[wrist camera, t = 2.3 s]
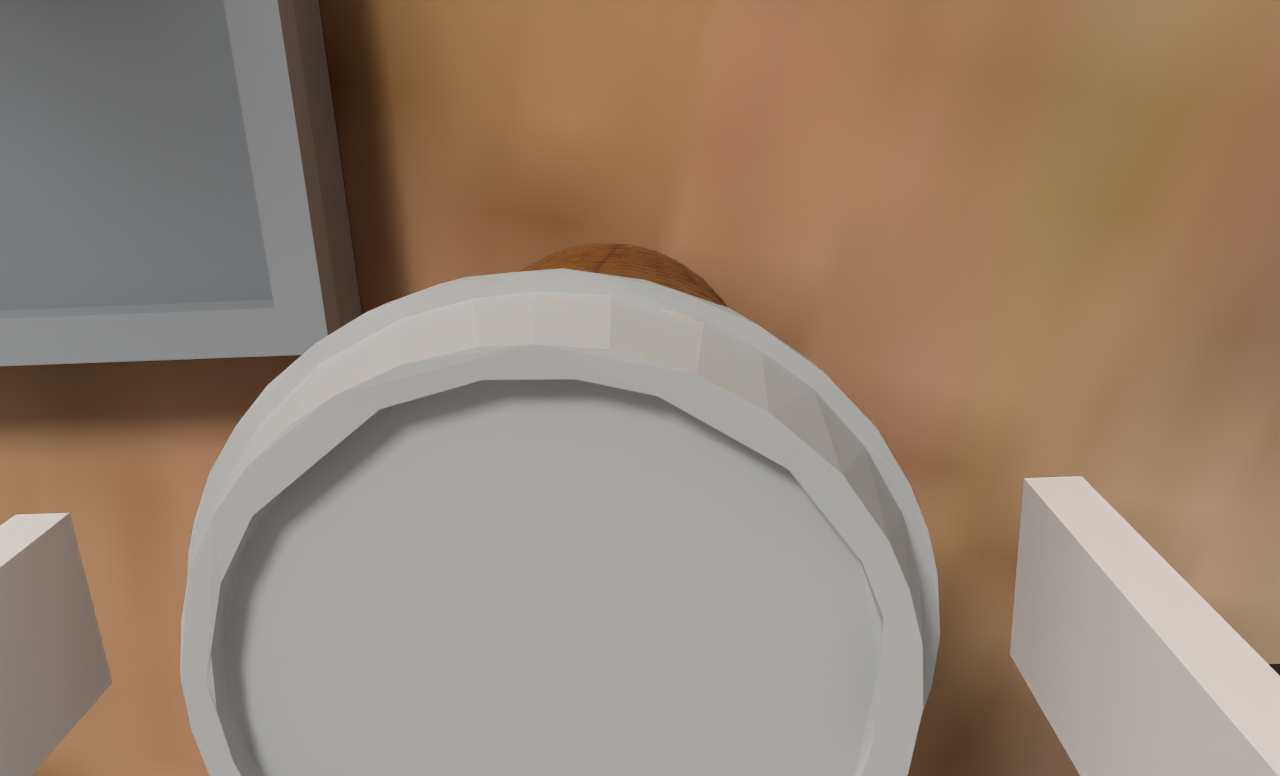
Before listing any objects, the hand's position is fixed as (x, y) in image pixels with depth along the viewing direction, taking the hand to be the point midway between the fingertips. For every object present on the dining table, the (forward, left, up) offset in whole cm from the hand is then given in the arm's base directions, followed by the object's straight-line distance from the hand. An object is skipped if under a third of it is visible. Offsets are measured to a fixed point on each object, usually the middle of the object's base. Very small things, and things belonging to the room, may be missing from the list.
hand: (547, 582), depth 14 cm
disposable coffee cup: (0, 0, -10) cm, 10 cm away
